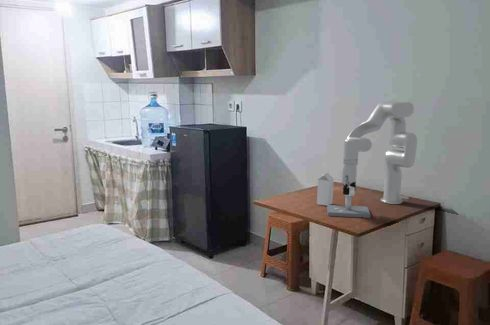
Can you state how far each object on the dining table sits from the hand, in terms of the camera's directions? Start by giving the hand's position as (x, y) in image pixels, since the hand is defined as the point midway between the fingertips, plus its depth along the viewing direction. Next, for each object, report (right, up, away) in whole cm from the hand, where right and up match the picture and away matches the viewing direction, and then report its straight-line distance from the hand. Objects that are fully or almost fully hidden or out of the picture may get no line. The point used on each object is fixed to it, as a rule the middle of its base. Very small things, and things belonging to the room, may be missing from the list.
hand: (349, 192), depth 232 cm
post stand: (0, -11, +2) cm, 11 cm away
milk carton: (-10, -8, +19) cm, 23 cm away
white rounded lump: (0, -1, 0) cm, 1 cm away
